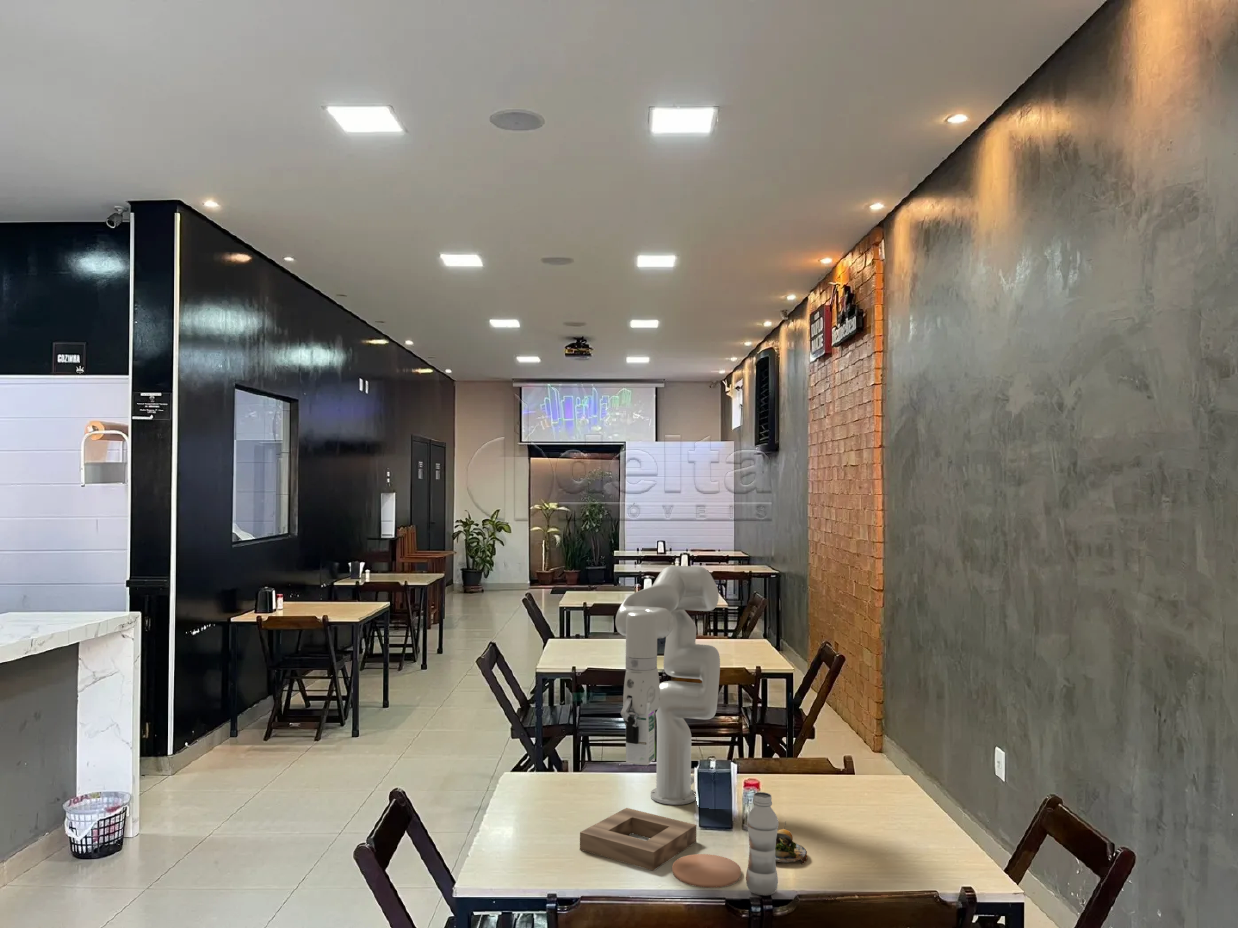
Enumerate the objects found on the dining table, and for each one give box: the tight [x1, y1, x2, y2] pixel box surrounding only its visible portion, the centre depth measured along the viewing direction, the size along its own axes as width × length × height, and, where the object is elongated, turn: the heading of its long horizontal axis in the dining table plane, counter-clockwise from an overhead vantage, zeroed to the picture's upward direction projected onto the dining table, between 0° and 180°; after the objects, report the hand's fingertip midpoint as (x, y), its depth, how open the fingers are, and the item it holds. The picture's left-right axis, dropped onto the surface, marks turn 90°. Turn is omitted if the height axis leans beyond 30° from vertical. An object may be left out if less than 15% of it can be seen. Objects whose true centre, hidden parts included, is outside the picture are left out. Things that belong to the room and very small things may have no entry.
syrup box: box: [625, 702, 657, 766], centre depth 203 cm, size 6×6×14 cm
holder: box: [579, 807, 697, 872], centre depth 202 cm, size 20×20×4 cm
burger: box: [775, 821, 808, 865], centre depth 197 cm, size 12×12×8 cm
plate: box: [671, 853, 742, 889], centre depth 187 cm, size 15×15×1 cm
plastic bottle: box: [745, 791, 780, 896], centre depth 178 cm, size 6×7×20 cm
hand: (640, 738), depth 203 cm, fingers closed on syrup box, 6 cm apart
